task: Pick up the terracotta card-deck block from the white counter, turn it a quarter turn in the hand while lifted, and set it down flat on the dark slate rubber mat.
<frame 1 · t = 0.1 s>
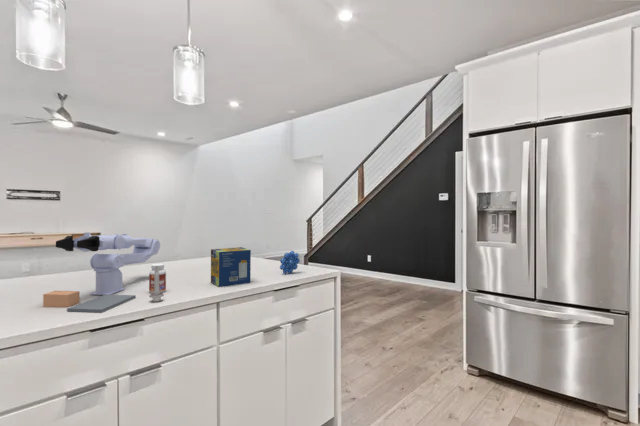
hand: (67, 244, 116), 22 cm above the table, tool horizontal, fingers open, 7 cm apart
rubber mat: (103, 304, 120), on the table
grapes: (289, 273, 179), on the table
pill bottle: (157, 292, 138), on the table
protein box: (230, 283, 155), on the table
deck block: (61, 305, 118), on the table
white flanged spindle: (156, 301, 124), on the table
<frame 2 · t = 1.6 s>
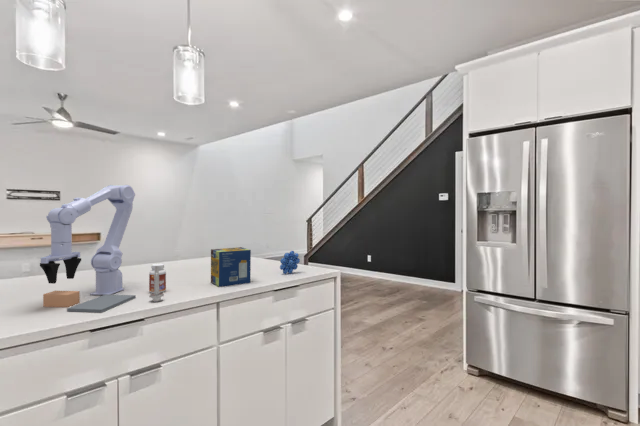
hand: (61, 280, 118), 8 cm above the table, tool pointing down, fingers open, 7 cm apart
nothing on the table moved.
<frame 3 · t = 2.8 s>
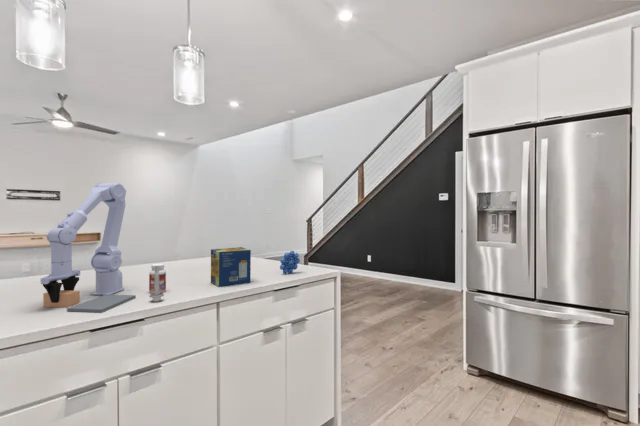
hand: (61, 300, 118), 2 cm above the table, tool pointing down, fingers closed on deck block, 5 cm apart
deck block: (61, 304, 118), on the table, touching gripper
everything else where it was.
when the fingers open (4 cm above the table, at t = 8.8 s): deck block drops 1 cm, resting on rubber mat.
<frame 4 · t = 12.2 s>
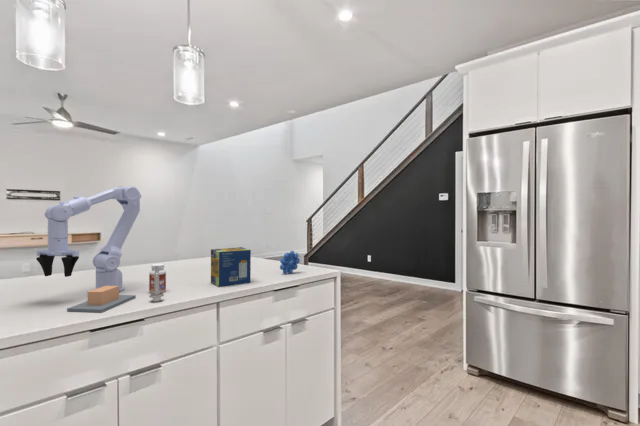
hand: (58, 276, 122), 9 cm above the table, tool pointing down, fingers open, 7 cm apart
deck block: (103, 301, 119), point 1 cm above the table, touching rubber mat
everything else where it was.
at the end: deck block inside the target area on the rubber mat (0.0 cm from its centre), point 1.0 cm above the rubber mat's base; deck block tilted 0°; the gripper is holding nothing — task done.
